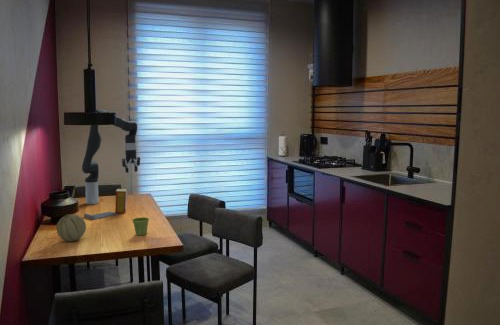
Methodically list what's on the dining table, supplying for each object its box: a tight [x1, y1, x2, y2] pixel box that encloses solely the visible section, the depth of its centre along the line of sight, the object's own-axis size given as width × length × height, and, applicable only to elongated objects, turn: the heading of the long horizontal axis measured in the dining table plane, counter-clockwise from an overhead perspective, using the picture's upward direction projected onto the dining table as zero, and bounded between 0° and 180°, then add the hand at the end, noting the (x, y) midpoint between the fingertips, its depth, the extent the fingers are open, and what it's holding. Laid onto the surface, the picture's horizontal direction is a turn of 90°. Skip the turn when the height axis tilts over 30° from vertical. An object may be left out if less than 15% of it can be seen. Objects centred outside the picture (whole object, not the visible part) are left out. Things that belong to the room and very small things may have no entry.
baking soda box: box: [114, 188, 128, 214], centre depth 293 cm, size 10×6×16 cm
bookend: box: [83, 211, 120, 221], centre depth 283 cm, size 12×19×2 cm, turn 139°
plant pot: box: [132, 217, 150, 236], centre depth 237 cm, size 9×9×9 cm
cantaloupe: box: [56, 213, 87, 242], centre depth 225 cm, size 15×15×15 cm
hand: (131, 172), depth 298 cm, fingers open, 6 cm apart
